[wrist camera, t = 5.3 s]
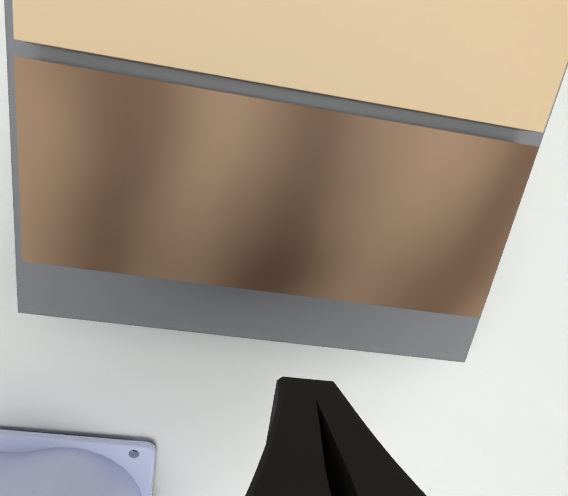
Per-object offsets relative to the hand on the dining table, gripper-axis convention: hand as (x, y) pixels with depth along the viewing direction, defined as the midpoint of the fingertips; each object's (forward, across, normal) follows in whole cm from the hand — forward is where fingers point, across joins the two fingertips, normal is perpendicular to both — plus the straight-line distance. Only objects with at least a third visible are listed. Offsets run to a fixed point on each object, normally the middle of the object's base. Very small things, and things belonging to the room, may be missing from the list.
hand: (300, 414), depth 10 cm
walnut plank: (+8, +1, -4) cm, 9 cm away
